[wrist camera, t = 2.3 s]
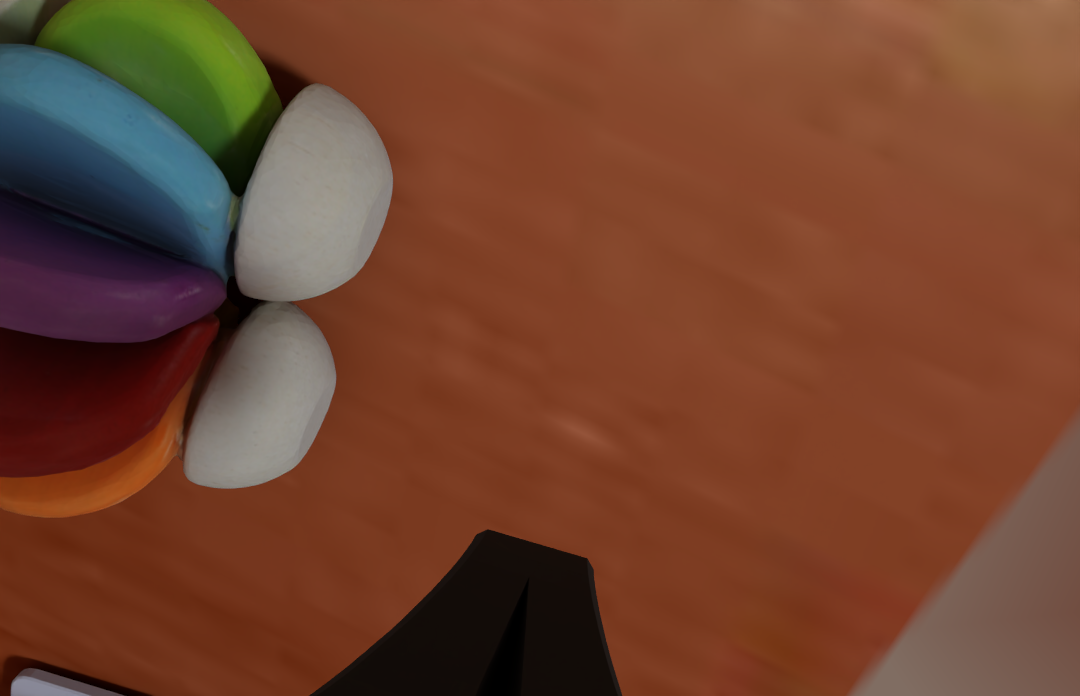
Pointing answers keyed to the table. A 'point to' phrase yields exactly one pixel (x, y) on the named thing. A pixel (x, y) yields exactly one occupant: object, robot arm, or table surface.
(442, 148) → the table surface
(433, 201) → the table surface
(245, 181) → the rainbow petal cluster
